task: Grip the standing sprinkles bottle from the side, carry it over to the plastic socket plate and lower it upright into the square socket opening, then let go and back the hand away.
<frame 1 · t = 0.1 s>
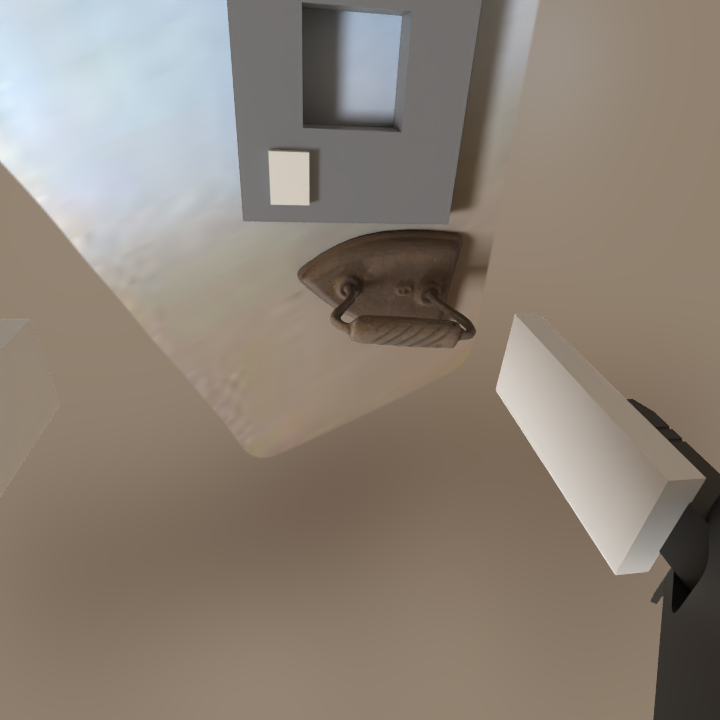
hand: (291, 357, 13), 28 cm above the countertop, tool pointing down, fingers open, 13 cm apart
clothes iron: (374, 279, 43), on the countertop
socket plate: (349, 71, 34), on the countertop
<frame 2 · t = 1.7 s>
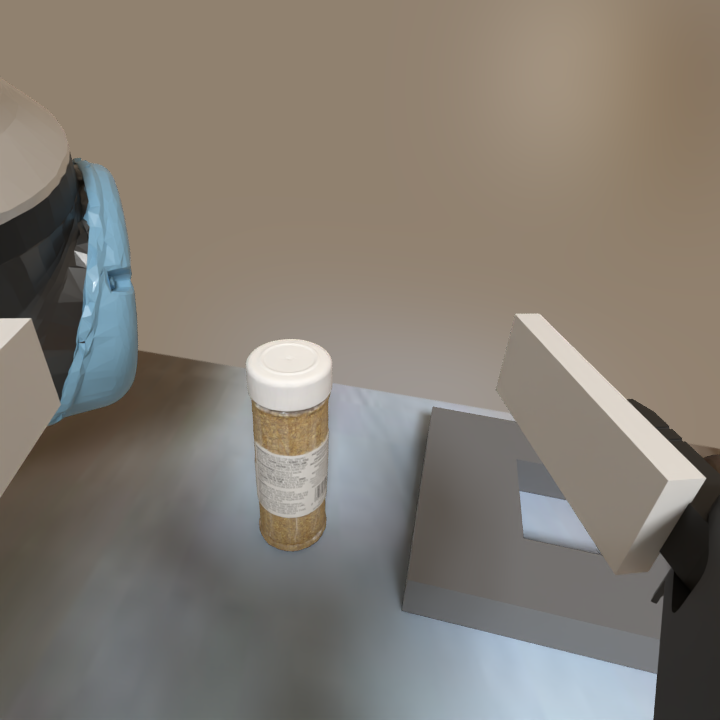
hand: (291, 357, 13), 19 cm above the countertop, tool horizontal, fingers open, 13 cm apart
socket plate: (561, 535, 33), on the countertop
sprinkles bottle: (293, 527, 32), on the countertop
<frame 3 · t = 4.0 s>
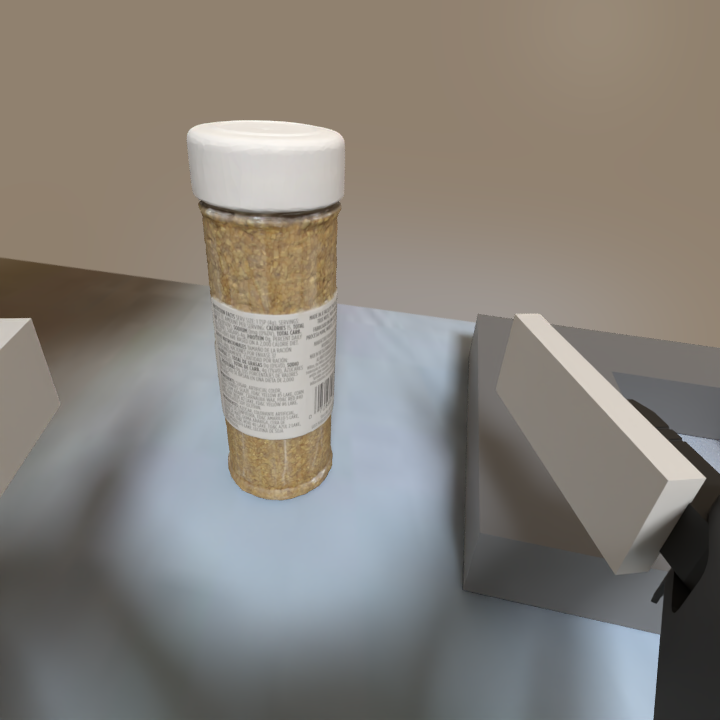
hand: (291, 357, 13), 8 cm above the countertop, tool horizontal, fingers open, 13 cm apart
socket plate: (688, 479, 21), on the countertop
sprinkles bottle: (281, 468, 21), on the countertop
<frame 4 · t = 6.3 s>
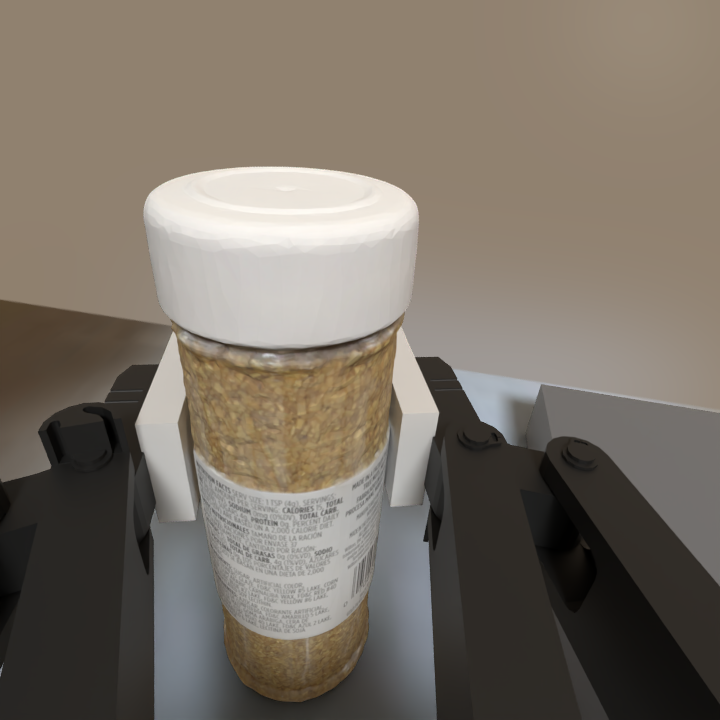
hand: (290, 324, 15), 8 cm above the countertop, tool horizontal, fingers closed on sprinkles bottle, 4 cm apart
sprinkles bottle: (297, 631, 15), on the countertop, touching gripper
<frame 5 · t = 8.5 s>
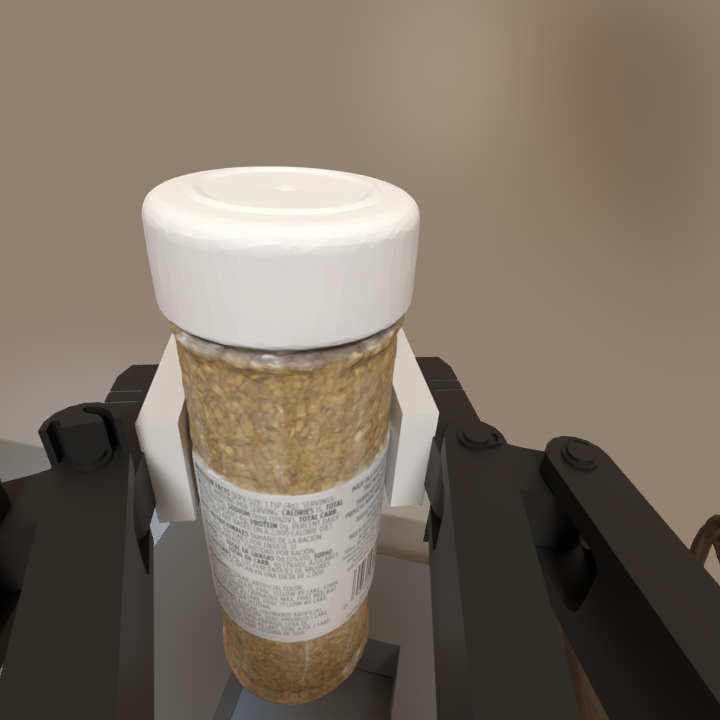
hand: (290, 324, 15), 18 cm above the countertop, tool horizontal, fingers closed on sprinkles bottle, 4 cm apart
sprinkles bottle: (297, 633, 15), point 10 cm above the countertop, touching gripper
when the fingers open (9 cm above the countertop, at t = 10.8 s): sprinkles bottle drops 1 cm, resting in socket plate.
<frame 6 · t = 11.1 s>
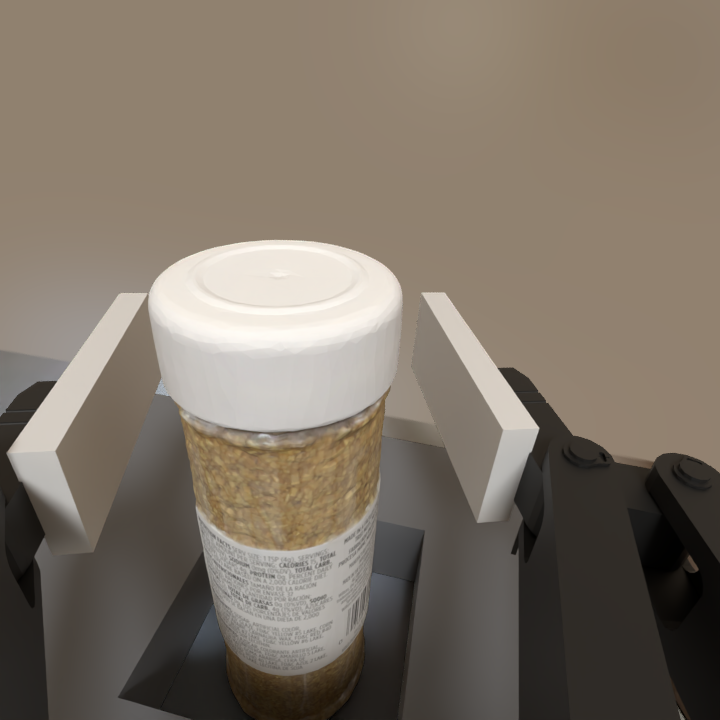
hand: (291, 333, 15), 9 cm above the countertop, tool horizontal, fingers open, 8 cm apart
socket plate: (298, 652, 16), on the countertop
sprinkles bottle: (296, 658, 16), resting in socket plate
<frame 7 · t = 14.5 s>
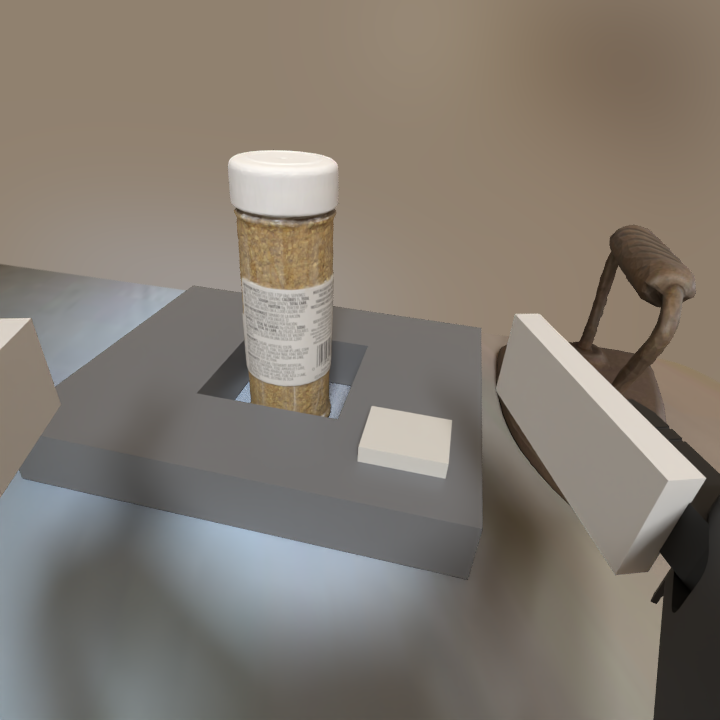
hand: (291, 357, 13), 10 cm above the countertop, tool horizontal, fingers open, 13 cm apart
clothes iron: (582, 437, 27), on the countertop
socket plate: (291, 412, 27), on the countertop
sprinkles bottle: (290, 416, 27), resting in socket plate
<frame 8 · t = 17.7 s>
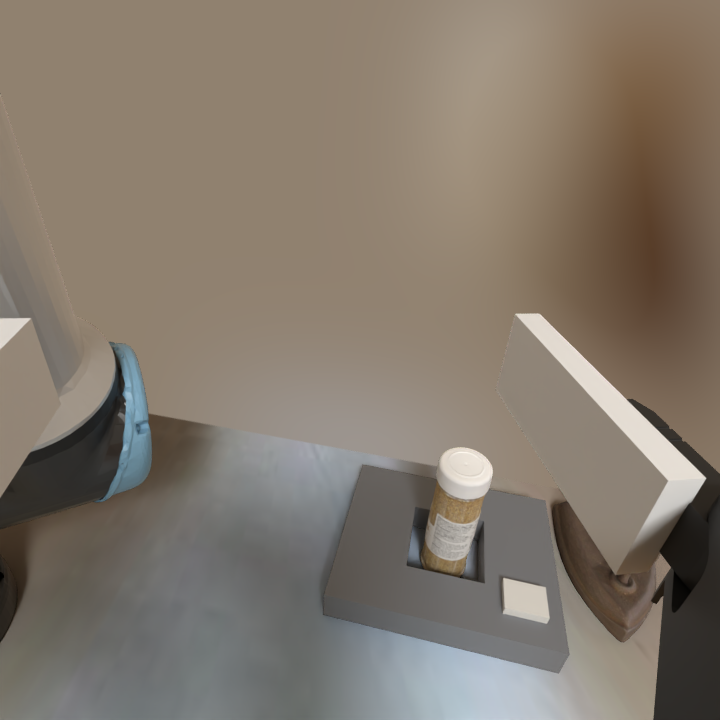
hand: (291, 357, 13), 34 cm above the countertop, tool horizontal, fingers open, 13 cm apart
clothes iron: (608, 575, 47), on the countertop
socket plate: (442, 561, 47), on the countertop
sprinkles bottle: (442, 564, 47), resting in socket plate
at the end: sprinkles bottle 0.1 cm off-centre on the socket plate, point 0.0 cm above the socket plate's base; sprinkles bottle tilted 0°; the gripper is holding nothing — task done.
